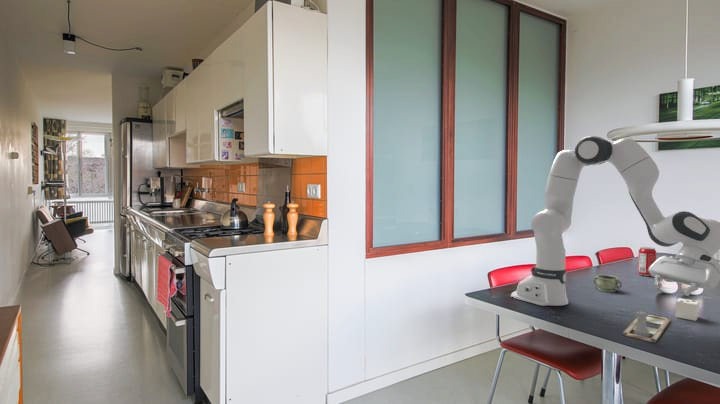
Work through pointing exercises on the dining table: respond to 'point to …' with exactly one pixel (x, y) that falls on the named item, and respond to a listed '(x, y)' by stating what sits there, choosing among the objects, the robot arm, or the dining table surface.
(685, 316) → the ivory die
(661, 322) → the track board
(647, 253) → the soda can
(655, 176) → the robot arm
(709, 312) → the dining table surface
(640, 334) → the rook chess piece
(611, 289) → the vessel
